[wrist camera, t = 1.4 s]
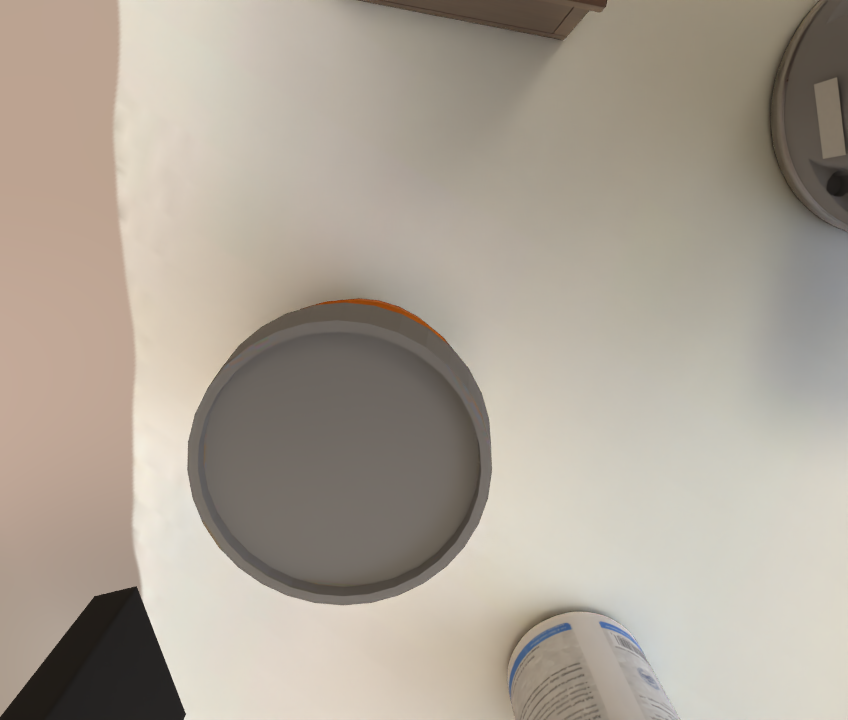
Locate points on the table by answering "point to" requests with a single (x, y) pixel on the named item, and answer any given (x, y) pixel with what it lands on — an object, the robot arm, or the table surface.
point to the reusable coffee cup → (342, 453)
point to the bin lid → (581, 4)
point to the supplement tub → (584, 673)
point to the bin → (501, 14)
